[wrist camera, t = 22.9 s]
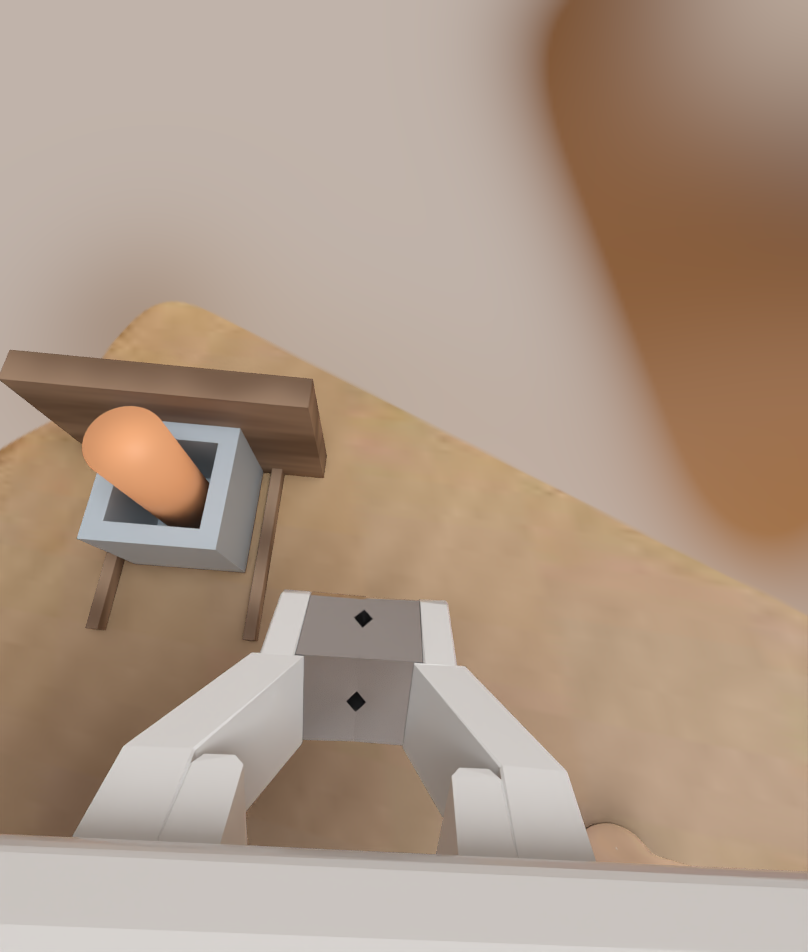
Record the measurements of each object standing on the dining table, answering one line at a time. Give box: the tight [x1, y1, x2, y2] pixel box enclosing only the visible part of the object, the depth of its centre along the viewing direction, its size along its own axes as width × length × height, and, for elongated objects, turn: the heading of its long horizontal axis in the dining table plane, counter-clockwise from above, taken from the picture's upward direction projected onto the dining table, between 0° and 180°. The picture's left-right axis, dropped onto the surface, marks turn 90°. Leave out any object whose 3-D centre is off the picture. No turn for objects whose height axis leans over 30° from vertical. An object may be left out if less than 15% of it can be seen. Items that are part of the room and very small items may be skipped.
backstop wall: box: [0, 350, 327, 641], centre depth 33 cm, size 15×18×12 cm
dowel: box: [82, 406, 210, 529], centre depth 32 cm, size 4×4×14 cm
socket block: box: [77, 421, 263, 572], centre depth 35 cm, size 8×8×8 cm
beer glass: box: [586, 823, 691, 866], centre depth 26 cm, size 7×7×15 cm
